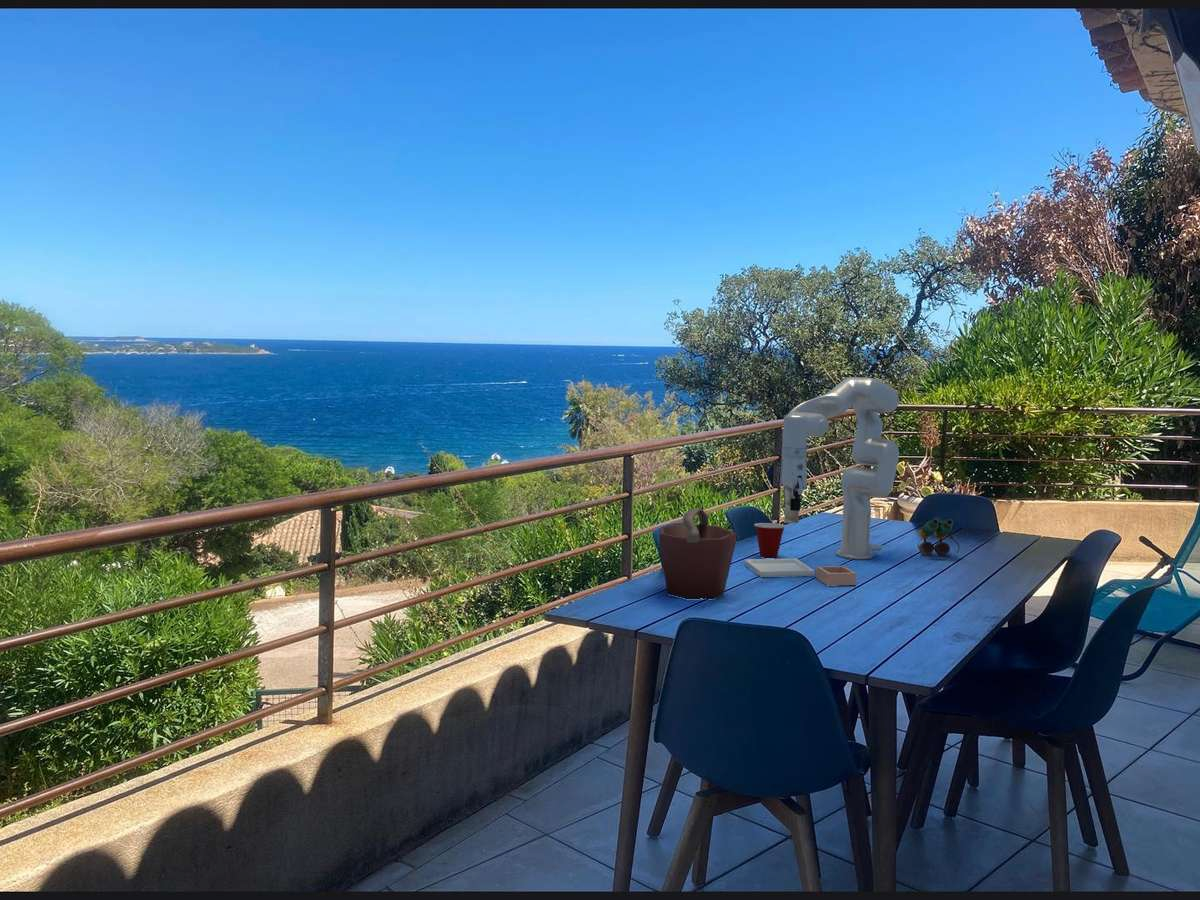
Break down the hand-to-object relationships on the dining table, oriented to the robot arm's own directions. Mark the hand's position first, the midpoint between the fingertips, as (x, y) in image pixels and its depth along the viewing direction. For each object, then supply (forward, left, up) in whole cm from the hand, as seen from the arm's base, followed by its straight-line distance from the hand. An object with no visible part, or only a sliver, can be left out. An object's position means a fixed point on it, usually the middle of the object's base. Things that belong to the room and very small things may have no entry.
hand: (791, 508), depth 264 cm
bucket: (+38, +19, -22) cm, 47 cm away
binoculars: (-61, -18, -22) cm, 68 cm away
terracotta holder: (-10, +12, -21) cm, 27 cm away
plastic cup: (0, -21, -22) cm, 30 cm away
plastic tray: (+3, -3, -21) cm, 22 cm away
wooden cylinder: (0, 0, -4) cm, 4 cm away
